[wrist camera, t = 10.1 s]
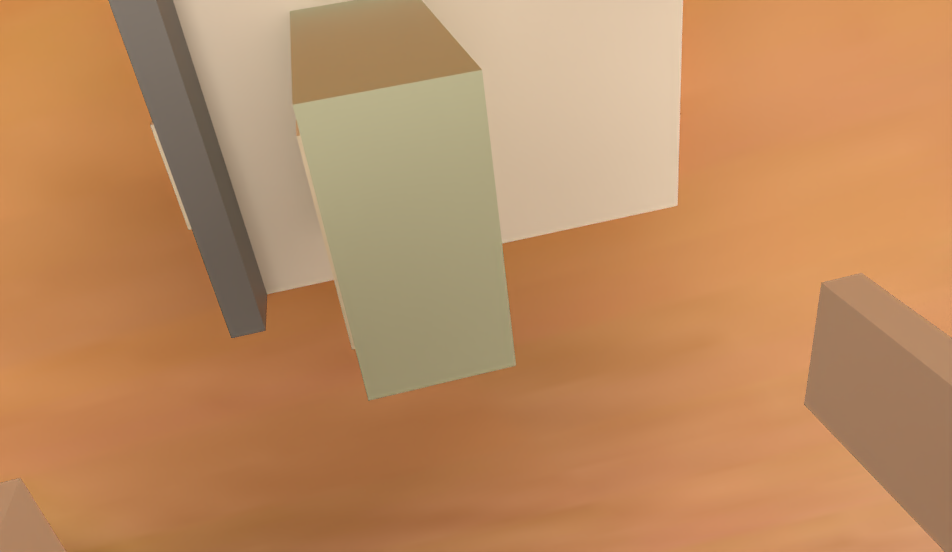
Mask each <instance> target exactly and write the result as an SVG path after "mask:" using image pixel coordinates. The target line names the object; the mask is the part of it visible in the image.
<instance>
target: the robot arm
mask: <svg viewBox="0 0 952 552" xmlns="http://www.w3.org/2000/svg"><path fill="white" fill-rule="evenodd" d="M804 405H805V406H806V407H807V408H808V409H809V410H810V411H811V412H812V413H813V414H814V415H815V416H816V417H817V418H818V419H819V420H820V422H821V423H822V424H823V425H824V426H825V427H826V428H827V429H828V430H829V431H830V432H831V433H832V434H833V435H834V436H835V437H836V438H837V439H838V440H839V441H840V442H841V444H842V445H843V446H844V447H845V448H846V449H847V450H848V451H849V452H850V453H851V454H852V455H853V456H854V457H855V458H856V459H857V460H858V461H859V462H860V463H861V464H862V465H863V467H864V468H865V469H866V470H867V471H868V472H869V473H870V474H871V475H872V476H873V477H874V478H875V479H876V480H877V481H878V482H879V483H880V484H881V485H882V486H883V487H884V489H885V490H886V491H887V492H888V493H889V494H890V495H891V496H892V497H893V498H894V499H895V500H896V501H897V502H898V503H899V504H900V505H901V506H902V507H903V508H904V509H905V510H906V512H907V513H908V514H909V515H910V516H911V517H912V518H913V519H914V520H915V521H916V522H917V523H918V524H919V525H920V526H921V527H922V528H923V529H924V530H925V531H926V532H927V534H928V535H929V536H930V537H931V538H932V539H933V540H934V541H935V542H936V543H937V544H938V545H939V546H940V547H941V548H942V549H943V550H944V551H945V552H952V338H951V337H950V336H948V335H947V334H946V333H944V332H943V331H941V330H940V329H939V328H937V327H936V326H934V325H933V324H932V323H930V322H929V321H927V320H926V319H925V318H923V317H922V316H921V315H919V314H918V313H916V312H915V311H914V310H912V309H911V308H909V307H908V306H907V305H905V304H904V303H902V302H901V301H900V300H898V299H897V298H895V297H894V296H893V295H891V294H890V293H889V292H887V291H886V290H884V289H883V288H882V287H880V286H879V285H877V284H876V283H875V282H873V281H872V280H870V279H869V278H868V277H866V276H865V275H863V274H862V273H859V274H855V275H851V276H847V277H843V278H839V279H835V280H831V281H827V282H822V283H821V290H820V297H819V304H818V311H817V318H816V325H815V332H814V339H813V346H812V353H811V360H810V367H809V374H808V381H807V388H806V395H805V402H804ZM0 552H66V551H65V549H64V547H63V546H62V544H61V543H60V541H59V539H58V538H57V536H56V534H55V533H54V531H53V530H52V528H51V526H50V525H49V523H48V522H47V520H46V518H45V517H44V515H43V513H42V512H41V510H40V509H39V507H38V505H37V504H36V502H35V501H34V499H33V497H32V496H31V494H30V492H29V491H28V489H27V488H26V486H25V484H24V483H23V481H22V480H21V478H18V479H14V480H10V481H6V482H2V483H0Z"/></svg>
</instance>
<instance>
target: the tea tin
mask: <svg viewBox="0 0 952 552" xmlns="http://www.w3.org/2000/svg"><path fill="white" fill-rule="evenodd" d="M290 38H291V71H292V105H293V109H294V113H295V116H296V136H297V140H298V144H299V148H300V151H301V155H302V159H303V163H304V167H305V171H306V174H307V178H308V182H309V186H310V190H311V194H312V198H313V201H314V205H315V209H316V213H317V217H318V221H319V224H320V228H321V232H322V236H323V240H324V244H325V248H326V251H327V255H328V259H329V263H330V267H331V271H332V274H333V278H334V282H335V286H336V290H337V294H338V298H339V301H340V305H341V309H342V313H343V317H344V321H345V324H346V328H347V332H348V336H349V340H350V344H351V348H352V349H355V350H356V354H357V358H358V362H359V365H360V369H361V373H362V377H363V381H364V385H365V389H366V393H367V397H368V401H370V400H374V399H378V398H382V397H386V396H391V395H395V394H399V393H403V392H407V391H412V390H416V389H420V388H424V387H428V386H433V385H437V384H441V383H445V382H449V381H454V380H458V379H462V378H466V377H470V376H475V375H479V374H483V373H487V372H491V371H496V370H500V369H504V368H508V367H513V366H516V360H515V351H514V343H513V334H512V325H511V317H510V308H509V299H508V291H507V282H506V273H505V265H504V256H503V247H502V239H501V230H500V221H499V213H498V204H497V195H496V187H495V178H494V169H493V161H492V152H491V143H490V135H489V126H488V117H487V109H486V100H485V91H484V83H483V74H482V69H481V68H480V67H479V66H478V65H477V63H476V62H475V61H474V60H473V59H472V58H471V57H470V55H469V54H468V53H467V52H466V51H465V50H464V49H463V47H462V46H461V45H460V44H459V43H458V42H457V40H456V39H455V38H454V37H453V36H452V35H451V34H450V32H449V31H448V30H447V29H446V28H445V27H444V25H443V24H442V23H441V22H440V21H439V20H438V19H437V17H436V16H435V15H434V14H433V13H432V12H431V11H430V9H429V8H428V7H427V6H426V5H425V4H424V2H423V1H422V0H353V1H347V2H341V3H335V4H329V5H323V6H317V7H311V8H305V9H299V10H293V11H290Z"/></svg>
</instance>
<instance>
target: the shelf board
mask: <svg viewBox="0 0 952 552" xmlns="http://www.w3.org/2000/svg"><path fill="white" fill-rule="evenodd" d="M108 1H109V3H110V6H111V9H112V12H113V14H114V17H115V20H116V23H117V25H118V28H119V31H120V34H121V36H122V39H123V42H124V45H125V47H126V50H127V53H128V55H129V58H130V61H131V64H132V66H133V69H134V72H135V75H136V77H137V80H138V83H139V86H140V88H141V91H142V94H143V97H144V99H145V102H146V105H147V108H148V110H149V113H150V116H151V119H152V122H151V124H150V126H151V129H152V132H153V134H154V137H155V140H156V142H157V145H158V148H159V151H160V153H161V156H162V159H163V162H164V164H165V167H166V170H167V172H168V175H169V178H170V181H171V183H172V186H173V189H174V191H175V194H176V197H177V200H178V202H179V205H180V208H181V211H182V213H183V216H184V219H185V221H186V224H187V227H188V230H190V229H192V231H193V234H194V237H195V239H196V242H197V245H198V248H199V250H200V253H201V256H202V259H203V261H204V264H205V267H206V270H207V272H208V275H209V278H210V281H211V283H212V286H213V289H214V292H215V294H216V297H217V300H218V303H219V305H220V308H221V311H222V314H223V316H224V319H225V322H226V325H227V327H228V330H229V333H230V336H231V338H235V337H239V336H244V335H248V334H253V333H257V332H262V331H266V310H267V294H271V293H276V292H280V291H285V290H290V289H294V288H299V287H303V286H308V285H313V284H317V283H322V282H327V281H331V280H334V278H333V274H332V271H331V267H330V263H329V259H328V255H327V251H326V248H325V244H324V240H323V236H322V232H321V228H320V224H319V221H318V217H317V213H316V209H315V205H314V201H313V198H312V194H311V190H310V186H309V182H308V178H307V174H306V171H305V167H304V163H303V159H302V155H301V151H300V148H299V144H298V140H297V136H296V116H295V113H294V109H293V105H292V71H291V38H290V11H293V10H299V9H305V8H311V7H317V6H323V5H329V4H335V3H341V2H347V1H353V0H108ZM422 1H423V2H424V4H425V5H426V6H427V7H428V8H429V9H430V11H431V12H432V13H433V14H434V15H435V16H436V17H437V19H438V20H439V21H440V22H441V23H442V24H443V25H444V27H445V28H446V29H447V30H448V31H449V32H450V34H451V35H452V36H453V37H454V38H455V39H456V40H457V42H458V43H459V44H460V45H461V46H462V47H463V49H464V50H465V51H466V52H467V53H468V54H469V55H470V57H471V58H472V59H473V60H474V61H475V62H476V63H477V65H478V66H479V67H480V68H481V69H482V74H483V83H484V91H485V100H486V109H487V117H488V126H489V135H490V143H491V152H492V161H493V169H494V178H495V187H496V195H497V204H498V213H499V221H500V230H501V239H502V243H507V242H512V241H516V240H521V239H526V238H530V237H535V236H539V235H544V234H549V233H553V232H558V231H563V230H567V229H572V228H577V227H581V226H586V225H590V224H595V223H600V222H604V221H609V220H614V219H618V218H623V217H627V216H632V215H637V214H641V213H646V212H651V211H655V210H660V209H664V208H669V207H674V206H678V171H679V133H680V95H681V57H682V20H683V0H422Z"/></svg>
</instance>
